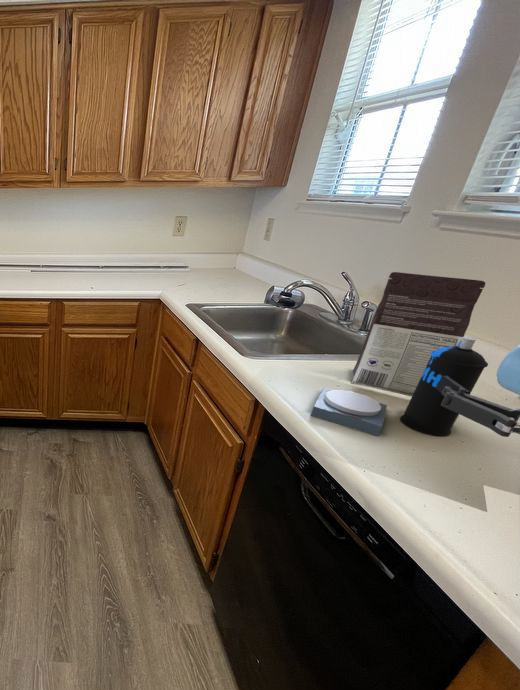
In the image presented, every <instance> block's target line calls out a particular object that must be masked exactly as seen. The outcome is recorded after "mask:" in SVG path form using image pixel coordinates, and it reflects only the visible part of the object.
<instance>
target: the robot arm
mask: <svg viewBox="0 0 520 690" xmlns="http://www.w3.org/2000/svg"><path fill="white" fill-rule="evenodd" d="M496 381H497V384H498V385H499V386H500V387H501V388H502V389H504V390H506V391H509V392H512V393H513V394H516V395H518V396H520V344H519V345H517V346H515V347H514V348H512V349H511V350H510V351H509V352H508V353H507V354H506V355H505V356H504V358H503V359H502V361H501V362H500V364H499V365H498V367H497V370H496ZM436 389H437V390H438V391H439V392H441V393H442V395H444V396H445V397H444V399H443V401H442V403H441V406H443V407H445V408H447V409H449V410H451V411H453V412H456V413H458V414H459V415H460V416H462V417H464V418H466V419H469V420H470V421H473V422H475V423H477V424H479V425H481V426H484V427H485V428H488V429H490V430H491V431H493V432H494V433H496V434H497V435H498V436H500V437H503V438H509V437H510V436H511V434H512V433H513V434H517V435H520V424H518V421H519V420H520V408H516V409H513V408H510V407H507V406H504V405H501V404H498V403H495V402H492V401H489V400H486V399H484V398H481V397H478V396H476V395H472V394H471V393H470V392H469V391H468V390H467V389H465V388H464V387H462V386H461V385H459V384H458V383H457V382H455V381H454V380H452V379H451V378H449V377H448V376H443V375H442V377H441V379H440V381H439V383H438V385H437V387H436ZM469 393H470V395H469Z"/></svg>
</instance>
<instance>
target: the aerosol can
mask: <svg viewBox="0 0 520 690" xmlns="http://www.w3.org/2000/svg"><path fill="white" fill-rule="evenodd" d="M476 340H477V339H476V338H475V337H470V336H464V337H462V338H461V341H460V343H459V344H458V346H455V347H453V346H451V347H443V348H440V349H438V350H435V351H432V352H431V358H430V360H429V362H428V364H427V366H426V368H425V370H424V372H423V374H422V377H421V379H420V381H419V383H418V385H417V387H416V389H415V391H414V393H413V394H411V395H412V396H411V398H410V400H409V402H408V404H407V405H406V408H405V410H404V412H403V414H402V415H401V416H400V417H399V420H400V422H401V423H402V424H403V425H405V427H408V428H410V429H412V430H414V431H416V432H419V433H422V434H426V435H430V436H434V437H435V436H437V437H447V436H449V435H451V434H452V428H453V426H454V425H455V423H456V421H457V419H458V417H459V415H460V414H458V413H456V412H453V411H451V410H449V409H447V408H445V407H443V406H441V403H442V401H443V399H444V397H445V396H444V395H442V393H441V392H439V391H438V390H437V389H436V387H437V385H438V383H439V381H440V379H441V377H442V375H443V376H448V377H449V378H451V379H452V380H454V381H455V382H457V383H458V384H459V385H461V386H462V387H464V388H465V389H467V390H468V391H469V392H470V393H469V395H471V393H472V391H473V389H474V388H475V386H476V384H477V382H478V380H479V379H480V377H481V375H482V373H483V371H484V369H485V368H487V367H488V366H489V363H488V361H486V359H485V358H484V356H483V355H482V354H480V353H479V352H478V351H475V350H474V349H472V348H473V347H474V344H475V343H476Z"/></svg>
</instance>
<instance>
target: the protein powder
mask: <svg viewBox="0 0 520 690" xmlns="http://www.w3.org/2000/svg"><path fill="white" fill-rule="evenodd" d="M485 287H486V282H485V281H484V280H479V279H470V278H469V279H468V278H461V277H460V278H459V277H449V276H438V275H429V274H428V275H427V274H417V273H408V272H399V271H392V272H391V273H390V274H389V276H388V279H387V282H386V285H385V288H384V289H383V290H384V292H383V295H382V298H381V300H380V302H379V304H378V305H377V307H376V310H375V311H374V315H373V317H372V320H371V322H370V325H369V329H368V331H367V334H366V337H365V340H364V343H363V346H362V349H361V351H360V353H359V356H358V359H357V361H356V363H355V365H354V368H353V369H352V374H353V377H352V380H350V384H351V385H352V384H353V385H358V386H363V387H369V388H374V389H377V390H383V391H387V392H392V393H396V394H399V395H400V394H401V395H404V396H410V397H412V395H413V393H414V391H415V389H416V387H417V385H418V383H419V381H420V379H421V377H422V374H423V372H424V370H425V368H426V366H427V364H428V362H429V360H430V358H431V352H432V351H435V350H438V349H440V348H443V347H451V346H453V347H455V346H458V344H459V343H460V341H461V338H462V337H465V334H466V332H467V330H468V328H469V325H470V321H471V317H472V314H473V311H474V308H475V305H476V304H477V302H478V300H479V298H480V296H481V294H482V292H483V289H484V288H485Z"/></svg>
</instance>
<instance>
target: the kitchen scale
mask: <svg viewBox="0 0 520 690" xmlns="http://www.w3.org/2000/svg"><path fill="white" fill-rule="evenodd" d="M387 408H388V404H385V403H381V402H378V401H376V400H375V399H373V398H371V397H369V396H367V395H364V394H361V393H358V392H355V391H350V390H345V389H329V388H325V387H323V388H322V389H321V392H320V394H319V396H318V398H317V399H316V401H315V402H314V405H313V407H312V410H311V413H310V416H311V417H313V418H318V419H320V420H324V421H326V422H330V423H333V424H336V425H339V426H343V427H347V428H350V429H353V430H356V431H358V432H363V433H366V434H369V435H372V436H375V437H379V436H380V433H381V431H382V429H383V427H384V421H385V417H386V412H387Z"/></svg>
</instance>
